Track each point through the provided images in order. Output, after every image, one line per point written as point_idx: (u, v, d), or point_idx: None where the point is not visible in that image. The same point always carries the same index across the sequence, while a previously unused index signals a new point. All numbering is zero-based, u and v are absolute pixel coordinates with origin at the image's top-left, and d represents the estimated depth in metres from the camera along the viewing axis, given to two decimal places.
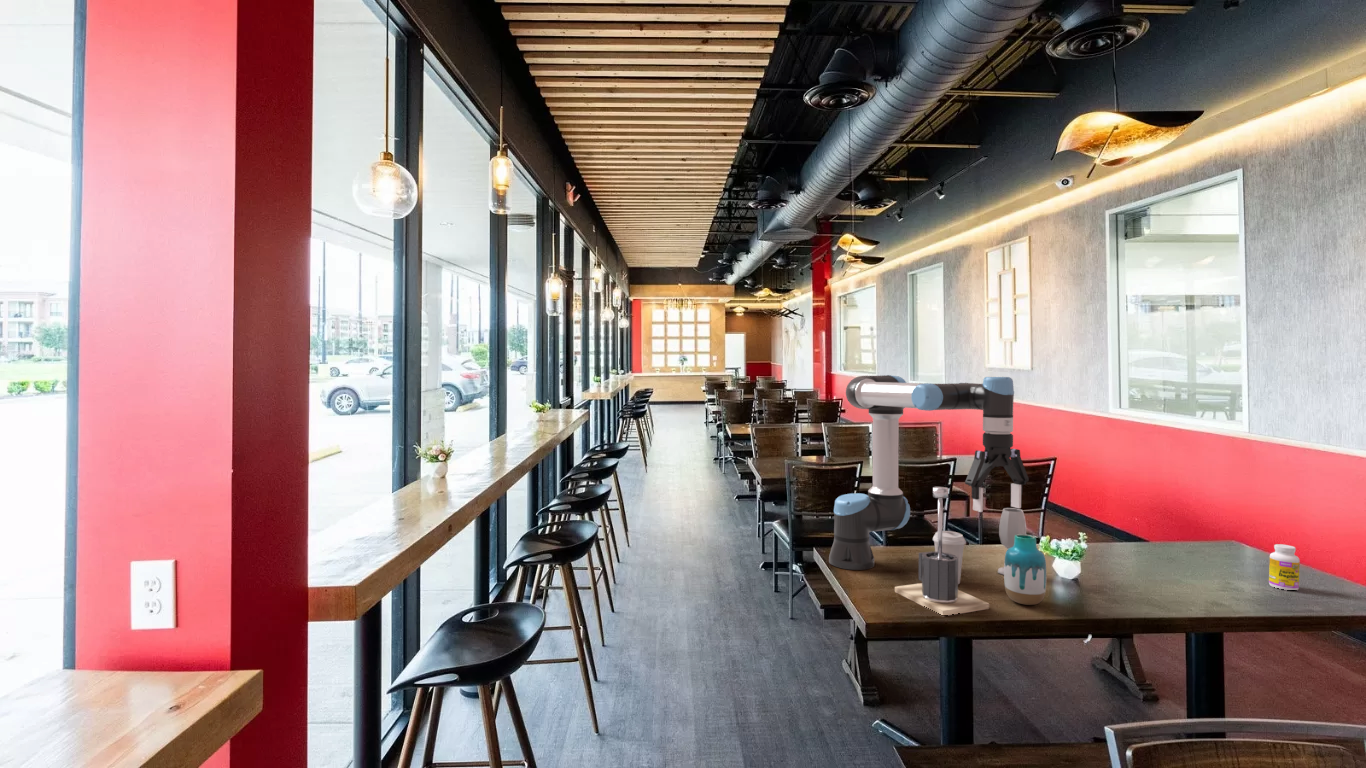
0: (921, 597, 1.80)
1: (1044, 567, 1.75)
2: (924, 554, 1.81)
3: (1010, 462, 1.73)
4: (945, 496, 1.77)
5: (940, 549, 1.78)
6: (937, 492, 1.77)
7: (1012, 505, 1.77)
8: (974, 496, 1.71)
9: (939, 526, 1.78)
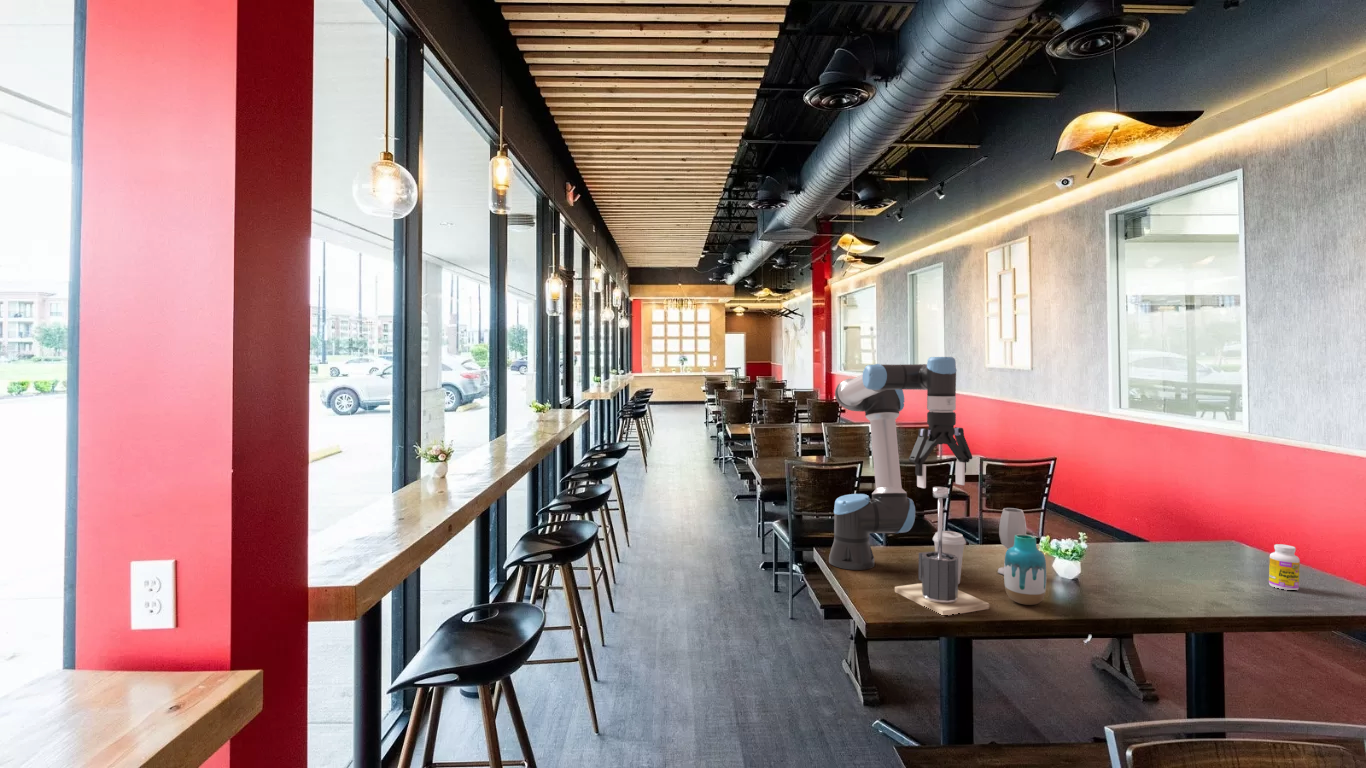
0: (921, 597, 1.80)
1: (1044, 567, 1.75)
2: (924, 554, 1.81)
3: (953, 440, 1.77)
4: (945, 496, 1.77)
5: (940, 549, 1.78)
6: (937, 492, 1.77)
7: (956, 482, 1.81)
8: (917, 472, 1.75)
9: (939, 526, 1.78)
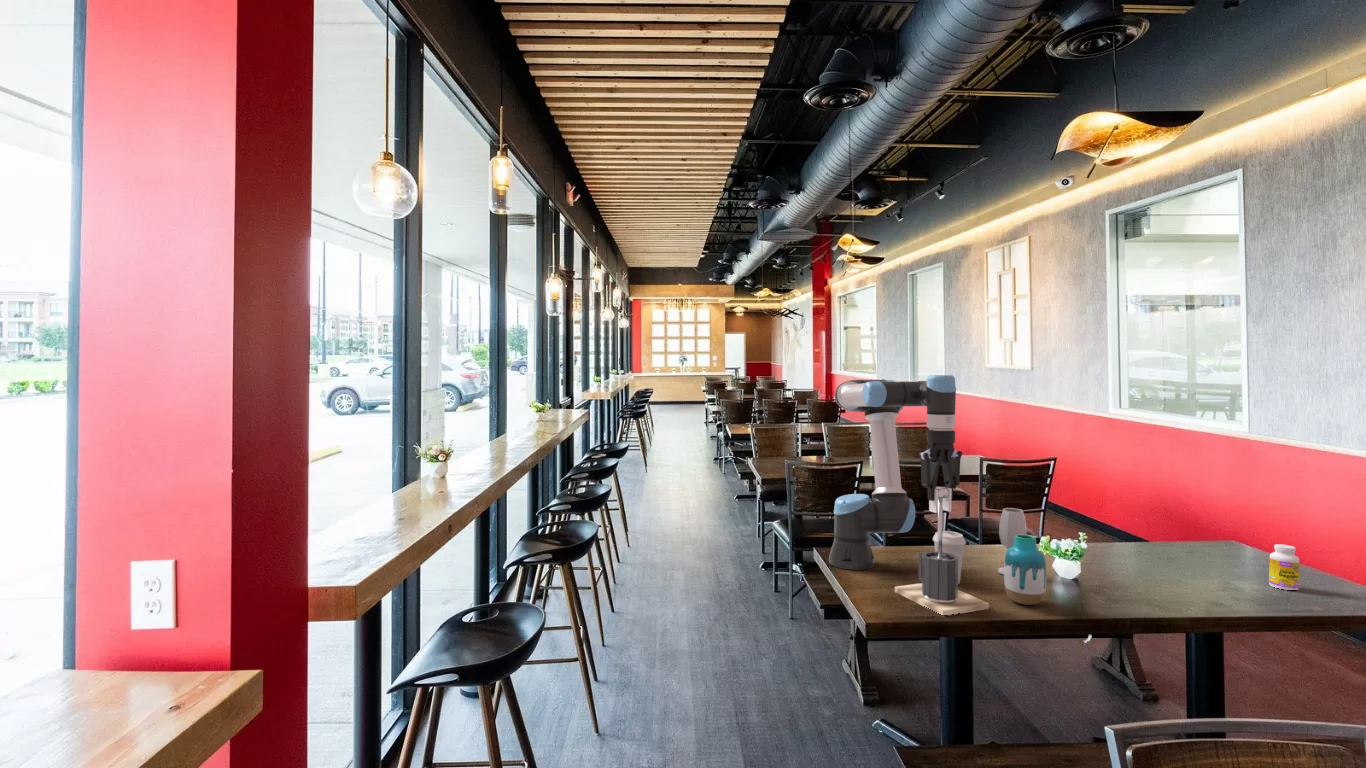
0: (921, 597, 1.80)
1: (1044, 567, 1.75)
2: (924, 554, 1.81)
3: (950, 460, 1.77)
4: (945, 496, 1.77)
5: (940, 549, 1.78)
6: None
7: (943, 508, 1.80)
8: (930, 497, 1.77)
9: (939, 526, 1.78)
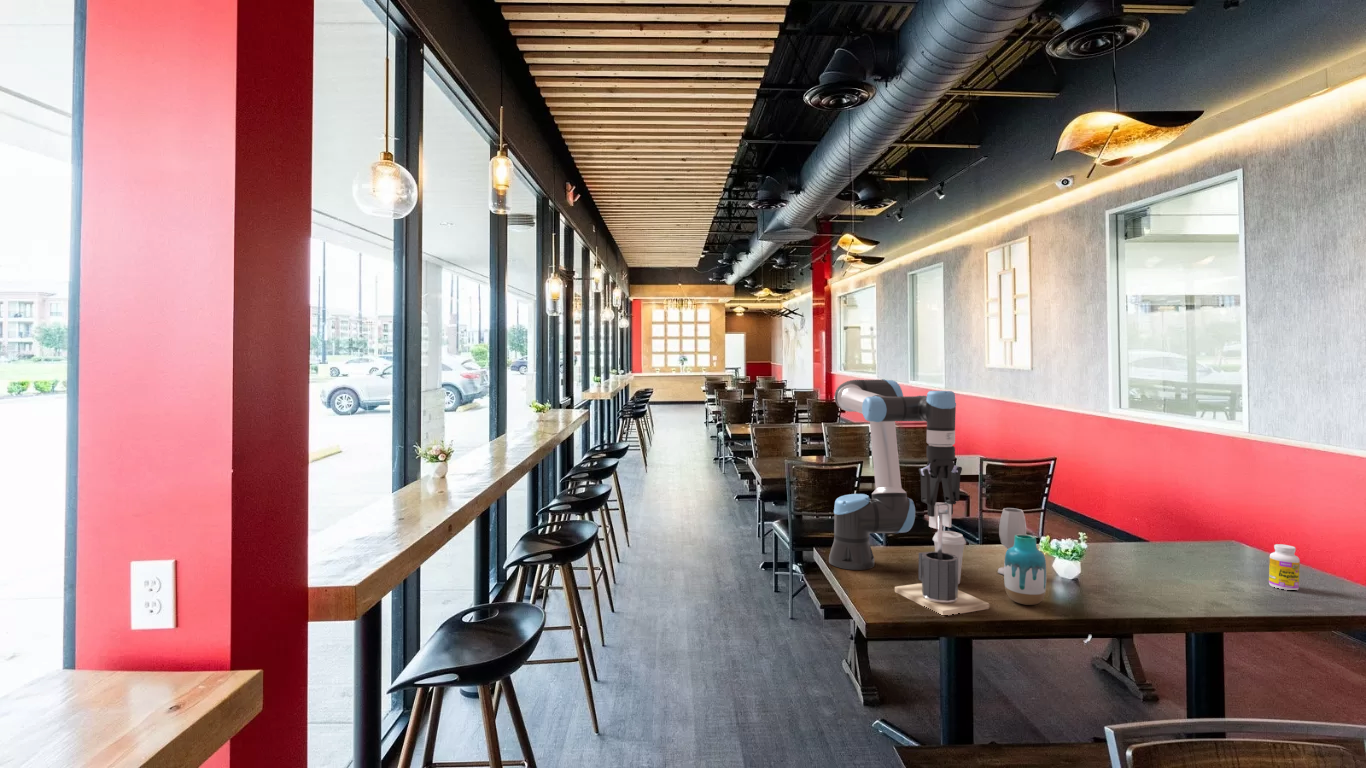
0: (921, 597, 1.80)
1: (1044, 567, 1.75)
2: (924, 554, 1.81)
3: (949, 476, 1.78)
4: (945, 512, 1.77)
5: None
6: None
7: (943, 524, 1.80)
8: (929, 513, 1.77)
9: (939, 542, 1.79)
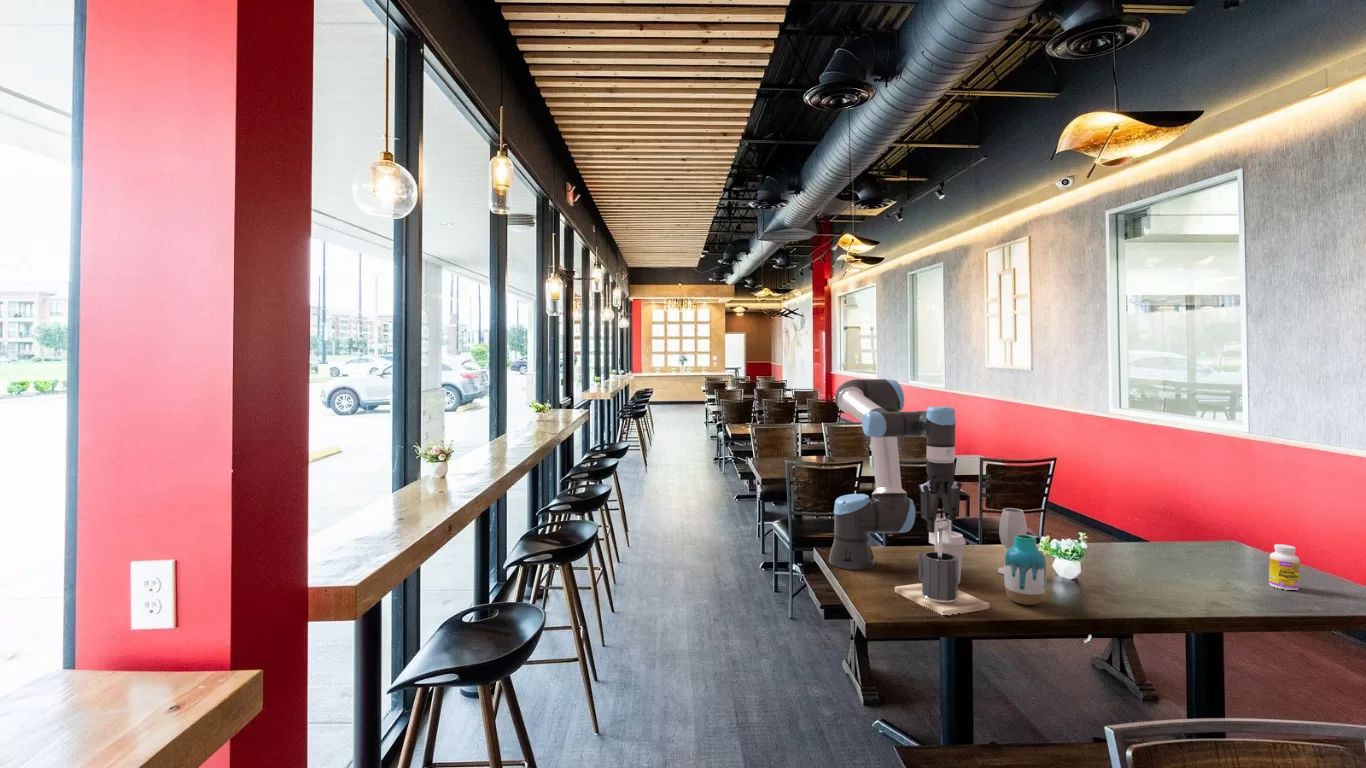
0: (921, 597, 1.80)
1: (1044, 567, 1.75)
2: (924, 554, 1.81)
3: (949, 492, 1.78)
4: (945, 528, 1.77)
5: None
6: None
7: (943, 540, 1.80)
8: (929, 529, 1.77)
9: (939, 558, 1.79)
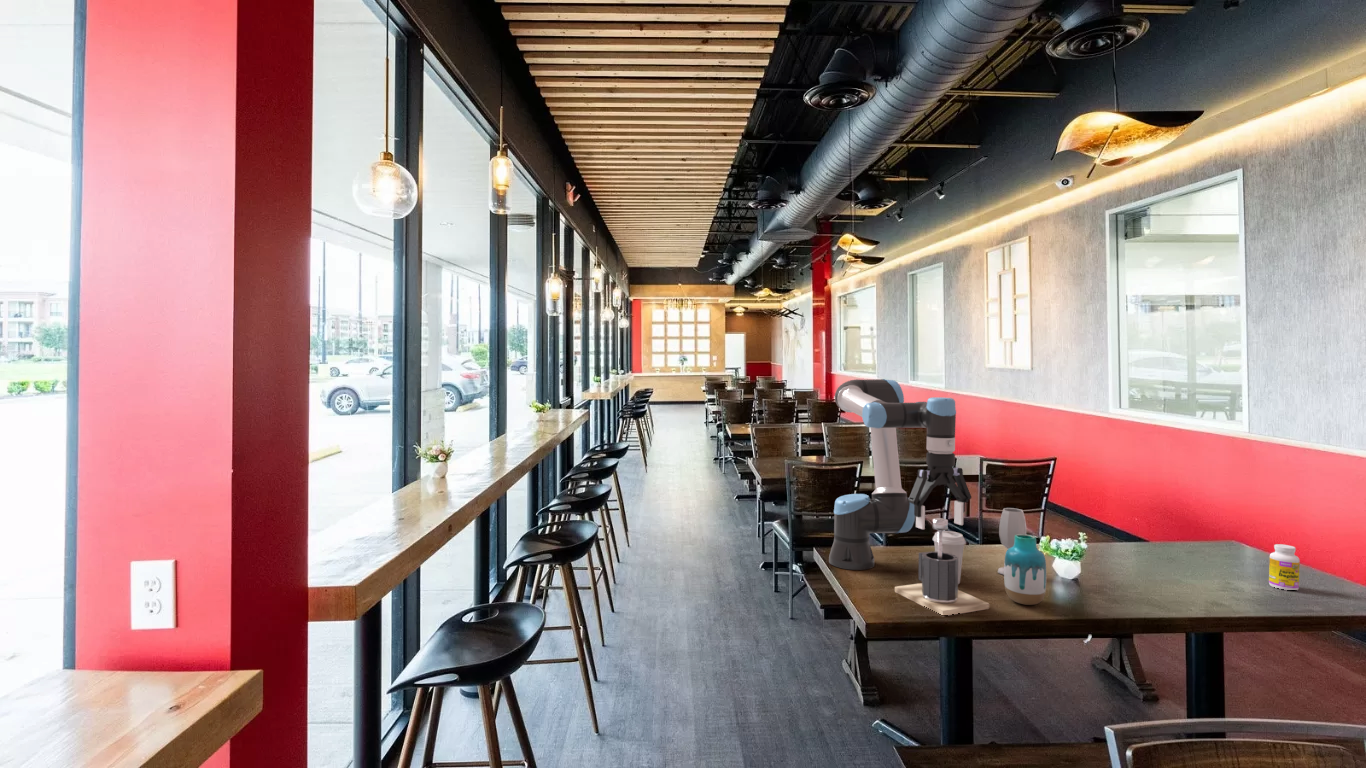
0: (921, 597, 1.80)
1: (1044, 567, 1.75)
2: (924, 554, 1.81)
3: (952, 481, 1.78)
4: (945, 528, 1.77)
5: None
6: (937, 524, 1.77)
7: (955, 522, 1.82)
8: (916, 513, 1.76)
9: (939, 558, 1.79)
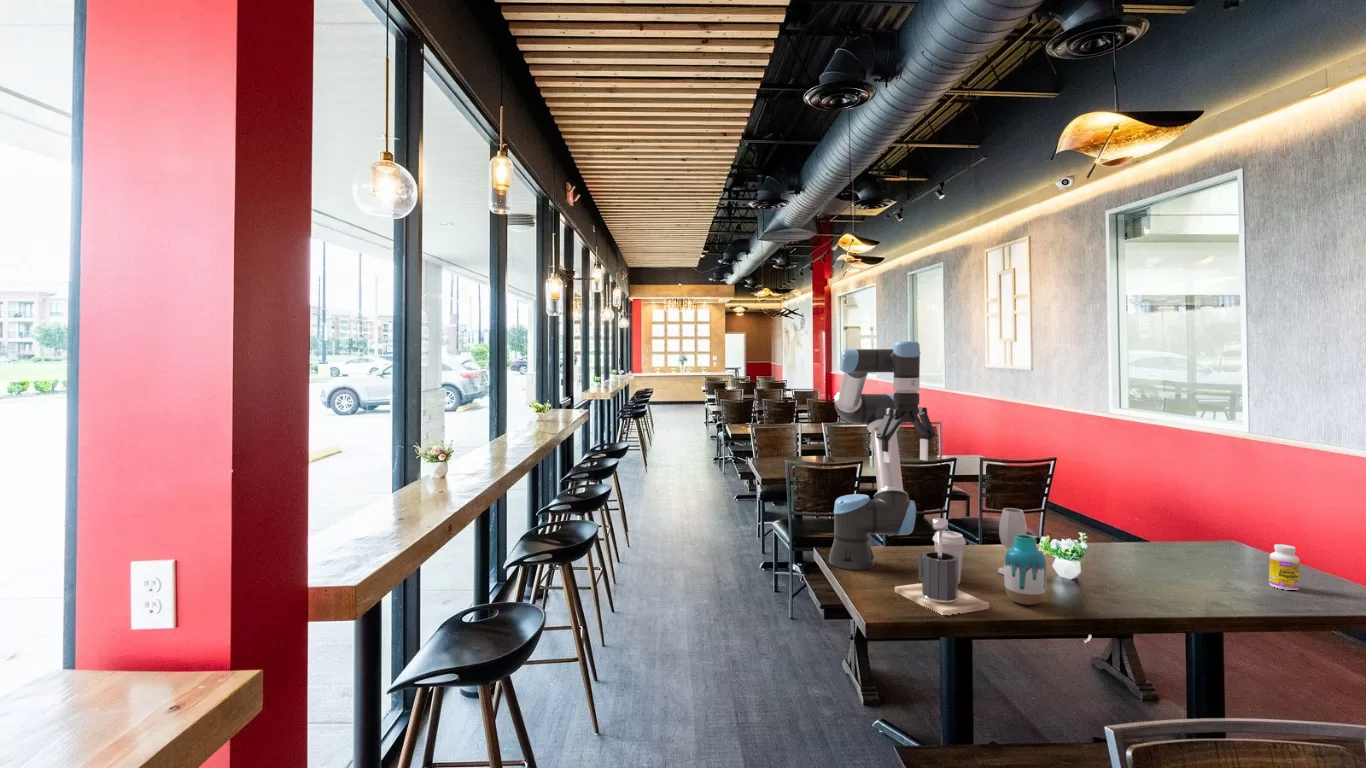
0: (921, 597, 1.80)
1: (1044, 567, 1.75)
2: (924, 554, 1.81)
3: (917, 419, 1.92)
4: (945, 528, 1.77)
5: None
6: (937, 524, 1.77)
7: (921, 458, 1.96)
8: (883, 448, 1.89)
9: (939, 558, 1.79)
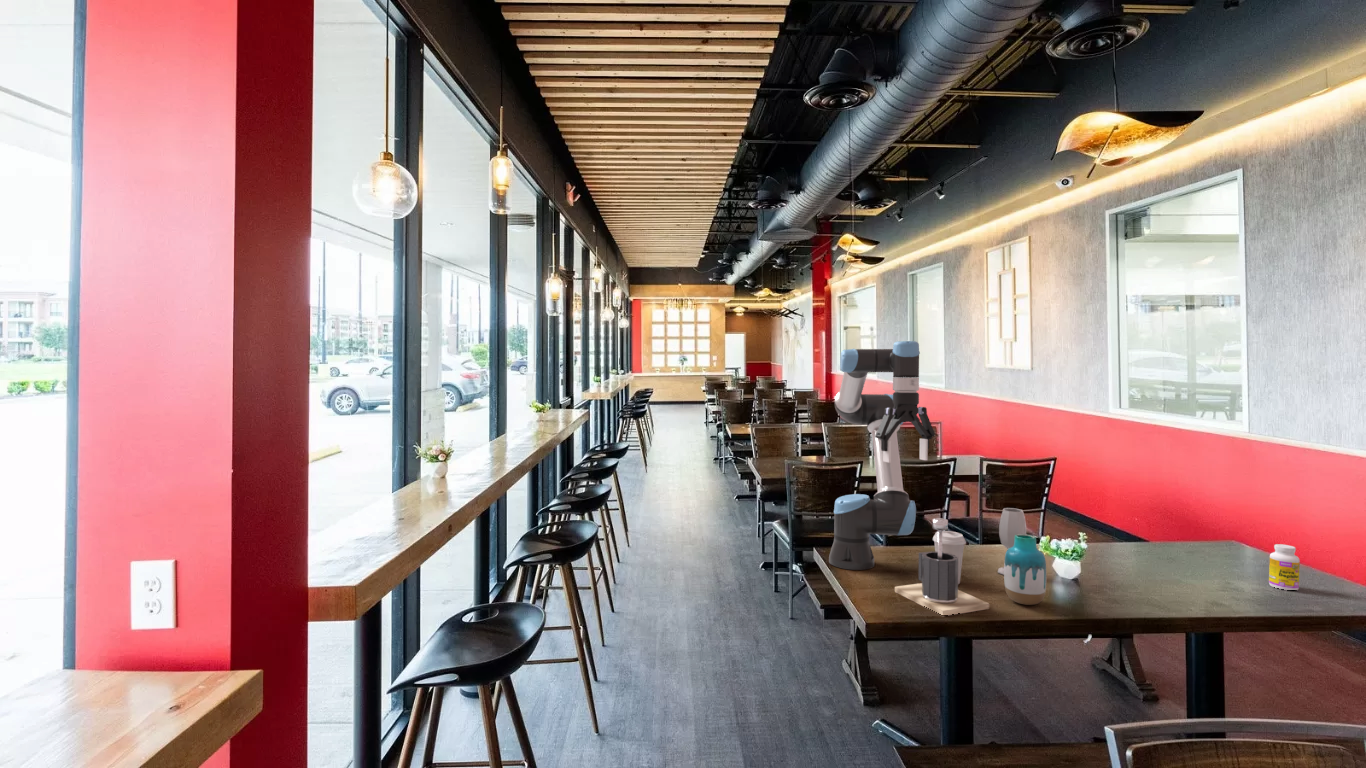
0: (921, 597, 1.80)
1: (1044, 567, 1.75)
2: (924, 554, 1.81)
3: (917, 418, 1.92)
4: (945, 528, 1.77)
5: None
6: (937, 524, 1.77)
7: (920, 458, 1.96)
8: (883, 448, 1.90)
9: (939, 558, 1.79)
